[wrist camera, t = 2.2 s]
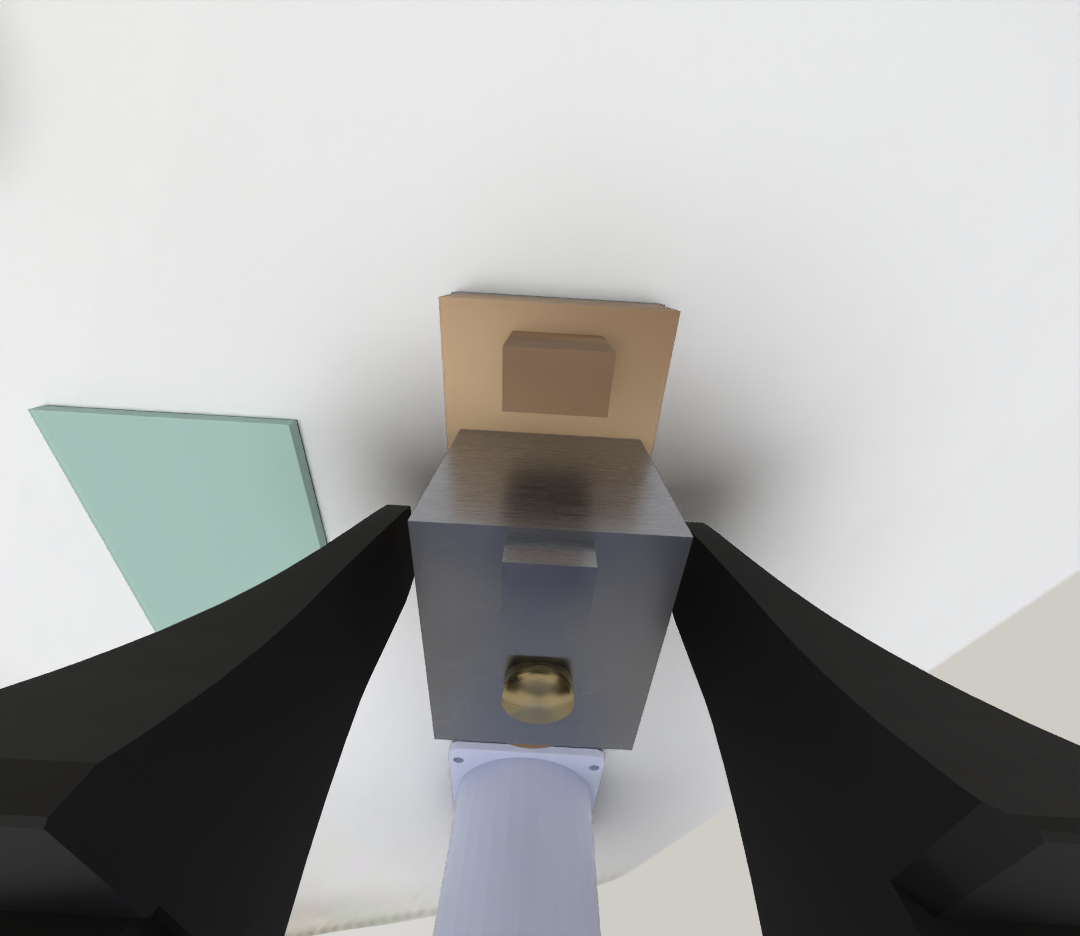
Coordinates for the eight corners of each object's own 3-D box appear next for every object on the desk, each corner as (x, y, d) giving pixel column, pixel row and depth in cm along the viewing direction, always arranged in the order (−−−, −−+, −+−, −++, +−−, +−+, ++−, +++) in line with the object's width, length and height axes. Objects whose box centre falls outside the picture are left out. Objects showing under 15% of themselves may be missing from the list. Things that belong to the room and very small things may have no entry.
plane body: (597, 652, 17) (611, 768, 13) (470, 645, 17) (446, 759, 13) (659, 303, 10) (725, 322, 6) (456, 291, 10) (399, 303, 6)
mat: (349, 638, 17) (345, 646, 16) (165, 627, 17) (157, 635, 16) (296, 420, 12) (288, 424, 12) (43, 405, 12) (27, 409, 12)
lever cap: (608, 612, 12) (637, 781, 8) (468, 604, 12) (426, 769, 8) (640, 439, 10) (707, 562, 6) (460, 429, 10) (393, 544, 6)
